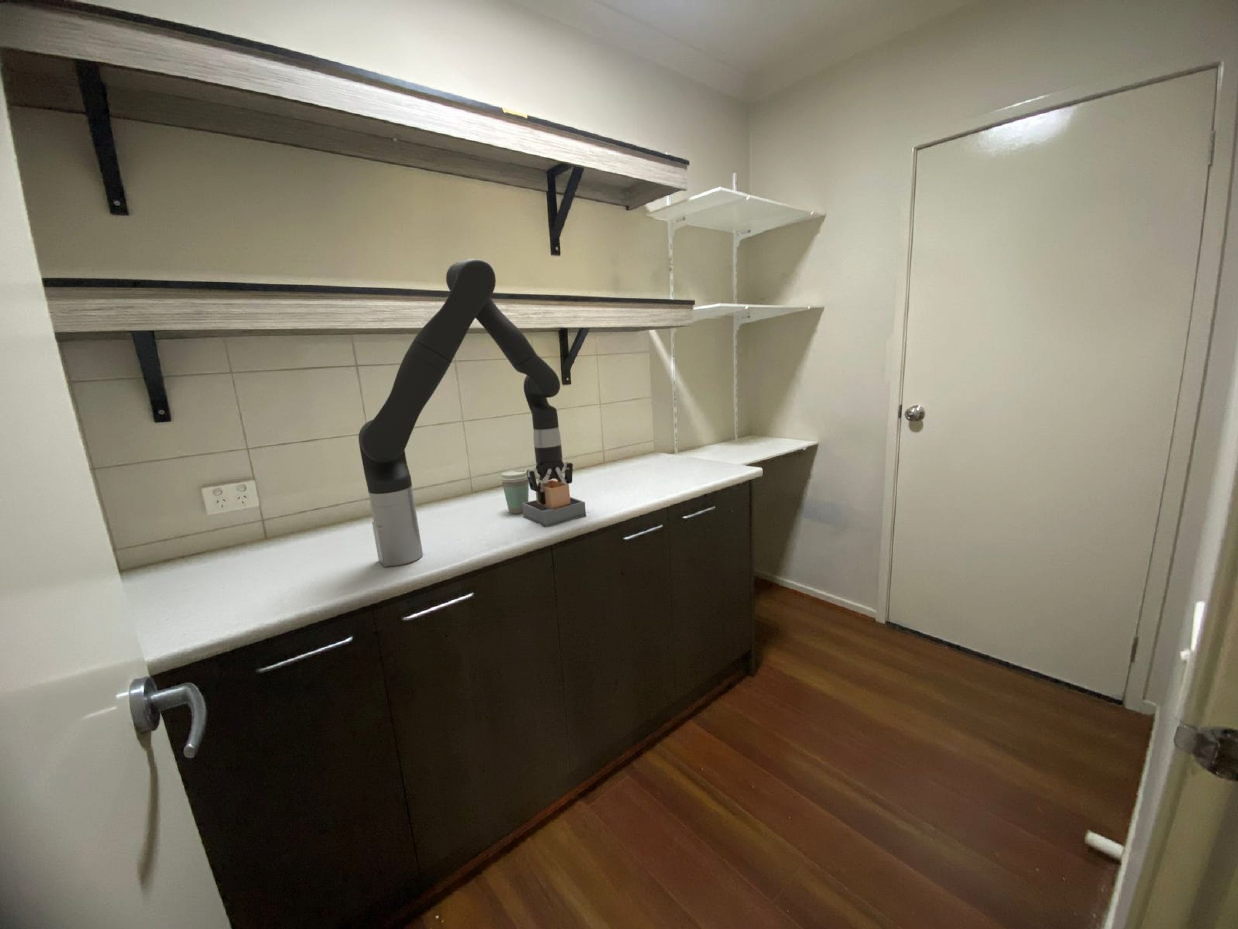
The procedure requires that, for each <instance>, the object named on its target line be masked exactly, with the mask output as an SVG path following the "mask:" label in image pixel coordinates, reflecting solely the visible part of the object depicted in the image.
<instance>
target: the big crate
mask: <svg viewBox="0 0 1238 929" xmlns="http://www.w3.org/2000/svg"><path fill="white" fill-rule="evenodd" d="M570 503H571V505H569V506H565V507H561V508H557V509H554V510H551V509H549V508H546V507H544V506H541V505H539V504H537V499H535V500H530V501H529V500H528V502H525V503H522V509H523V513H522V516H523V517H524V518H526V519H527V520H529V521H532V522H534V523H536V524H539V525H540V526H542V527H545V528H546V527H549V526H553V525H554V526H555V525H557V524H560V523H564V522H568V521H571V520H575V519H578V518H582V517H585V516H586V515H587V514H586V513H587V512H586V502H585V501H583V500H581V499H577V498H574V497H572V496H570Z"/></svg>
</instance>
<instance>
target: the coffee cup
mask: <svg viewBox="0 0 1238 929" xmlns="http://www.w3.org/2000/svg"><path fill="white" fill-rule="evenodd" d="M526 471H527V470H526V469H512V470H507V471H504V472H502V473H501V475H500V482H501V484H502V488H503V492H504V496H505V501H506V506H507V509H508V510H507V511H508V513H509V514H514V515H515V514H516V515H517V514H523V509H522V503H525V502H529V492H530V490H529V489H530V485H529V481H528V477H527V473H526Z"/></svg>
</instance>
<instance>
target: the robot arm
mask: <svg viewBox="0 0 1238 929" xmlns="http://www.w3.org/2000/svg"><path fill="white" fill-rule="evenodd" d="M496 280H497V279H496V274H495V271H494V268H493V267H492V265H491V264H490V263H488V262H487V261H485V260H484V259H480V258H468V259H464V260H460V261H456V262H455V263H452V265H450V266H449V267H448V269H447V272H446V276H445V281H446V285H447V287H448V290H449V292H450V293H449V294H448V296H447V298H446V301H444V304H443V305H442V306H441V307H440V309H439V310H438V311H437V312H436V313H435V314H434V315H433V316H432V317H431V319H429V320H428V321H427V323H426V324H425V325H423V327H422V328H421V329H420V330H419V331H418V332H417V334H416V336H415V337H414V338H413V340H412V342H411V344H410V346H409V347H408V348H407V351H406V352H405V354H404V356H403V358H402V361H401V363H400V365H399V368H398V370H397V373H396V376H395V379H394V382H393V385H392V387H391V389H390V390H391V391H390V394H388V397H387V399H386V400H385V402H384V404H383V405H382V406H381V408H380V410H379V411H378V412H377V414H376V415H375V417H374V418H373V419H371V420H369V421H367V422H365V423H364V424H363V425H362V427H360V430H359V433H358V445H359V451H360V457H361V461H362V462H361V463H362V467H363V468H362V469H363V473H364V479H365V483H366V487H367V491H368V492H367V493H368V496H369V502H370V509H371V514H372V520H373V521H372V522H371V523H372V530H373V536H374V542H375V547H376V553H377V559H378V561H379V563H380V564H381V565H382V567H383V568H387V567H394V566H395V567H397V566H402V565H406V564H410V563H413V562H415V561H417V560H419V559H420V558H421V557H423V553H424V551H423V547H422V540H421V534H420V529H419V528H420V527H419V521H418V516H417V515H418V514H417V509H416V503H415V502H416V501H415V496H414V490H413V483H412V476H411V474H410V473H411V472H410V470H409V466H408V462H407V456H406V447H407V445H408V442H409V441H410V437H411V435H412V433H413V431H414V428H415V426H416V424H417V421H418V419H419V417H420V415H421V413H422V411H423V409H424V408H425V407H426V405H427V403H428V402H429V401H430V399H431V398H432V396H433V394H434V392H435V391H436V390H437V388H438V387H439V385H440V383H441V382H442V380H443V378H444V376H445V375H446V373H447V371H448V369H449V367H450V366H451V364H452V362H453V360H454V358H455V357H456V354H457V352H458V351H459V349H460V346H461V345H462V343H463V341H464V339H465V336H466V335H467V333H468V331H469V329H470V327H471V325H472V324H473V323H474V320H475V319H476V320H477V322H478V323H479V324H480V325H481V326H482V327H483V328H484V329H485V331H486V332H487V334H488V335H490V337H491V338H492V339H493V341H494V342H495V344H496V345H497V346H498V348H499V349H500V350H501V351H502V353H503V354H504V356H505V357H506V359H507V360H508V361H509V363H510V364H511V365H512V367H513V368H514V370H515V371H516V372H517V373H520V374H523V375H526V376H525V378H524V381H523V392H524V396H525V399H526V402H527V405H528V409H529V411H530V413H531V418H532V419H531V420H532V428H533V429H532V430H533V432H532V434H533V435H532V436H533V446H534V448H533V449H534V457H535V458H534V459H535V462H536V466H535V468H533V469H527V470H526V473H527V477H528V481H529V489H530V490H531V491H534V492H536V491H537V493H538V501H539V502H540V503H541V504H542V505H544V504H546V501H545V492H544V487H545V486H546V485H547V482H548V481H549V480H556V481H558V482H561V483H565V484H569V485H570V484H572V483H573V465H574V464H573V463H572V462H568V461H565V462H563V449H562V448H563V447H562V438H561V431H560V425H559V417H558V416H559V415H558V410H557V408H556V407H554V406H553V405H551V404H549V402H548V401H549V400H548V398H549V399H550V398H553V397H556V396H557V395H558V393H560V392H559V391H560V389H561V382H560V378H559V376H558V374H557V373H556V371H555V370H554V369H553V368H552V367H551V366H550V365H549V364H548V363H547V362H546V361H545V360H544V359H543V358H542V357H540V356H539V355H538V354H537V353H536V351H535V349H534V348H533V346H532V345H531V343H530V342H529V340H528V339H527V337H526V336H525V335H524V333H523V332H522V331H521V330H520V329H519V328H518V327H517V326H516V325H515V324H514V323H513V322H512V321H511V320H510V319H509V318H508V317H507V316H506V315H505V314H504V313H503V312H502V310H500V308H499V307H498V306H497V305H496V303H495V302H494V300H493V299H492V295H493V294H494V291H495V288H496V282H497V281H496ZM563 470H564V474H563V473H562V471H563ZM537 474H538V475H539V476H538V479H537V480H536V477H537ZM537 483H538V485H537Z"/></svg>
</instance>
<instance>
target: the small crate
mask: <svg viewBox="0 0 1238 929" xmlns="http://www.w3.org/2000/svg"><path fill="white" fill-rule="evenodd" d="M537 485H538V482H537ZM544 492H545V501H546V504H544V505H542V504H541V503H540V502H539V501H538V493H537V491H535V496H536V498H535V500H537V504H539V505H541V506H544V507H546V508H549V509H551V510H554V509H557V508H561V507H565V506H569V505H571V503H570V497H571V495H570V493H571V492H570V483H569V484H565V483H561V482H558V481H557V480H556V479H551V480H548V482H547V485H546V486H545V487H544Z"/></svg>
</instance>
